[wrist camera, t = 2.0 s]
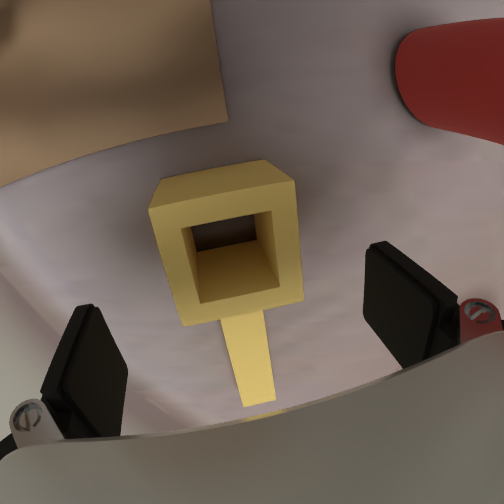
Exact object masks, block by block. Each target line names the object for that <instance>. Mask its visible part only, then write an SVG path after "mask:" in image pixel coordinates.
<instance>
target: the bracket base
mask: <svg viewBox="0 0 504 504" xmlns="http://www.w3.org/2000/svg"><path fill="white" fill-rule="evenodd" d="M223 122H229V121H228V114H227V108H226V101H225V95H224V88H223V82H222V75H221V69H220V62H219V56H218V49H217V43H216V36H215V30H214V23H213V16H212V10H211V3H210V0H0V187H1V186H4V185H6V184H8V183H11V182H13V181H16V180H18V179H21V178H23V177H26V176H28V175H31V174H33V173H36V172H39V171H41V170H44V169H47V168H49V167H52V166H55V165H58V164H61V163H64V162H67V161H70V160H73V159H76V158H79V157H82V156H85V155H88V154H91V153H95V152H98V151H101V150H105V149H108V148H112V147H115V146H119V145H122V144H126V143H130V142H134V141H138V140H142V139H146V138H150V137H154V136H158V135H162V134H167V133H171V132H176V131H181V130H186V129H190V128H196V127H201V126H206V125H212V124H217V123H223Z"/></svg>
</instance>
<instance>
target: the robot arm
mask: <svg viewBox="0 0 504 504" xmlns="http://www.w3.org/2000/svg"><path fill="white" fill-rule="evenodd" d="M457 299H458V296H457V295H456V294H454V293H453V292H452V291H451V290H450V289H448V288H447V287H446V286H445V285H443V284H442V283H441V282H440V281H438V280H437V279H436V278H435V277H433V276H432V275H431V274H430V273H428V272H427V271H426V270H424V269H423V268H422V267H421V266H419V265H418V264H417V263H415V262H414V261H413V260H411V259H410V258H409V257H407V256H406V255H405V254H403V253H402V252H401V251H399V250H398V249H397V248H395V247H394V246H393V245H391V244H390V243H389V242H387V241H382V242H378V243H373V244H371V245H370V247H369V249H367V250H366V255H365V284H364V302H363V315H364V318H365V320H366V322H367V323H368V324H369V325H370V327H371V328H372V329H373V330H374V332H375V333H376V334H377V336H378V337H379V338H380V339H381V341H382V342H383V343H384V345H385V346H386V347H387V348H388V350H389V351H390V352H391V354H392V355H393V356H394V357H395V359H396V360H397V361H398V363H399V364H400V365H401V367H402V368H403V369H402V370H400V371H397V372H395V373H392V374H390V375H387V376H385V377H382V378H379V379H377V380H374V381H371V382H369V383H366V384H363V385H360V386H358V387H355V388H352V389H349V390H346V391H343V392H340V393H337V394H334V395H331V396H327V397H324V398H321V399H318V400H314V401H311V402H308V403H304V404H301V405H297V406H293V407H290V408H286V409H282V410H278V411H274V412H270V413H266V414H262V415H257V416H253V417H248V418H244V419H239V420H234V421H229V422H224V423H218V424H213V425H207V426H201V427H195V428H189V429H182V430H174V431H167V432H159V433H149V434H138V435H127V436H120V433H121V424H122V415H123V406H124V399H125V391H126V384H127V377H128V368H127V365H126V363H125V361H124V359H123V357H122V355H121V353H120V351H119V349H118V347H117V345H116V343H115V341H114V339H113V337H112V335H111V333H110V330H109V328H108V326H107V324H106V322H105V320H104V317H103V315H102V313H101V311H100V309H99V308H98V307H94V305H93V304H86V305H81V306H77V307H76V308H75V310H74V312H73V314H72V316H71V318H70V320H69V323H68V325H67V327H66V329H65V331H64V334H63V336H62V338H61V340H60V343H59V345H58V348H57V350H56V352H55V355H54V357H53V359H52V362H51V364H50V367H49V369H48V372H47V374H46V377H45V380H44V382H43V385H42V387H41V390H40V392H41V393H42V398H41V401H40V400H38V399H30V400H26V401H24V402H22V403H21V404H19V405H18V406H17V407H16V408H15V409H14V411H13V412H12V414H11V416H10V421H9V425H10V429H11V432H12V433H11V434H10V435H8V436H7V437H6V438H4V439H3V440H2V441H1V442H0V504H504V320H501V317H500V313H499V311H498V309H497V308H496V307H495V306H494V305H493V304H492V303H490V302H488V301H486V300H483V299H473V298H472V299H468V300H466V301H464V302H463V303H462V304H461V305H459V304H457Z"/></svg>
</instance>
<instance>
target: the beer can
mask: <svg viewBox="0 0 504 504" xmlns="http://www.w3.org/2000/svg"><path fill="white" fill-rule="evenodd" d="M395 75H396V80H397V84H398V89H399V92H400V94H401V96H402V98H403V100H404V102H405V104H406V106H407V107H408V108H409V110H410V111H411V112H412V113H413V115H414V116H415V117H416V118H417V119H419V120H420V121H421V122H423V123H424V124H426V125H427V126H430V127H434V128H438V129H442V130H447V131H452V132H456V133H460V134H465V135H469V136H473V137H477V138H481V139H484V140H488V141H492V142H495V143H499V144H502V145H504V18H492V19H481V20H472V21H463V22H456V23H449V24H443V25H437V26H431V27H426V28H421V29H418V30H415V31H413V32H411V33H409V34H408V35H407V36H406V37H405V39H404V40H403V41H402V42H401V43H400V45H399V48H398V52H397V55H396V58H395Z"/></svg>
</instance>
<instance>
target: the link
mask: <svg viewBox="0 0 504 504" xmlns="http://www.w3.org/2000/svg"><path fill="white" fill-rule="evenodd" d="M148 211H149V215H150V219H151V223H152V226H153V230H154V234H155V238H156V241H157V245H158V248H159V252H160V255H161V259H162V262H163V265H164V269H165V272H166V275H167V279H168V282H169V285H170V288H171V292H172V295H173V298H174V301H175V304H176V307H177V310H178V313H179V316H180V319H181V322H182V325H183V327H184V326H189V325H194V324H200V323H205V322H210V321H215V320H220V321H221V325H222V329H223V333H224V336H225V340H226V344H227V348H228V352H229V356H230V359H231V363H232V367H233V370H234V374H235V378H236V381H237V385H238V389H239V392H240V396H241V399H242V403H243V406H244V407H246V406H251V405H255V404H260V403H264V402H268V401H272V400H276V396H275V389H274V382H273V376H272V369H271V362H270V355H269V349H268V342H267V335H266V328H265V322H264V315H263V310H266V309H270V308H275V307H279V306H283V305H288V304H292V303H296V302H300V301H304V296H303V279H302V264H301V250H300V237H299V225H298V213H297V202H296V191H295V181H294V180H293V179H292V178H291V177H289V176H288V175H286V174H285V173H284V172H282V171H281V170H279V169H278V168H277V167H275V166H274V165H272V164H271V163H270V162H268V161H267V160H265V159H263V160H256V161H250V162H244V163H239V164H233V165H227V166H222V167H217V168H211V169H206V170H201V171H196V172H191V173H186V174H182V175H177V176H172V177H168V178H164V179H160V182H159V184H158V186H157V188H156V191H155V193H154V195H153V198H152V200H151V203H150V205H149V207H148ZM250 214H253V215H254V222H255V229H256V236H257V240H254V241H249V242H244V243H239V244H234V245H230V246H225V247H220V248H215V249H210V250H205V251H200V252H197V251H196V247H195V243H194V238H193V234H192V230H191V226H195V225H200V224H205V223H210V222H214V221H219V220H224V219H229V218H235V217H240V216H245V215H250Z"/></svg>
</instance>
